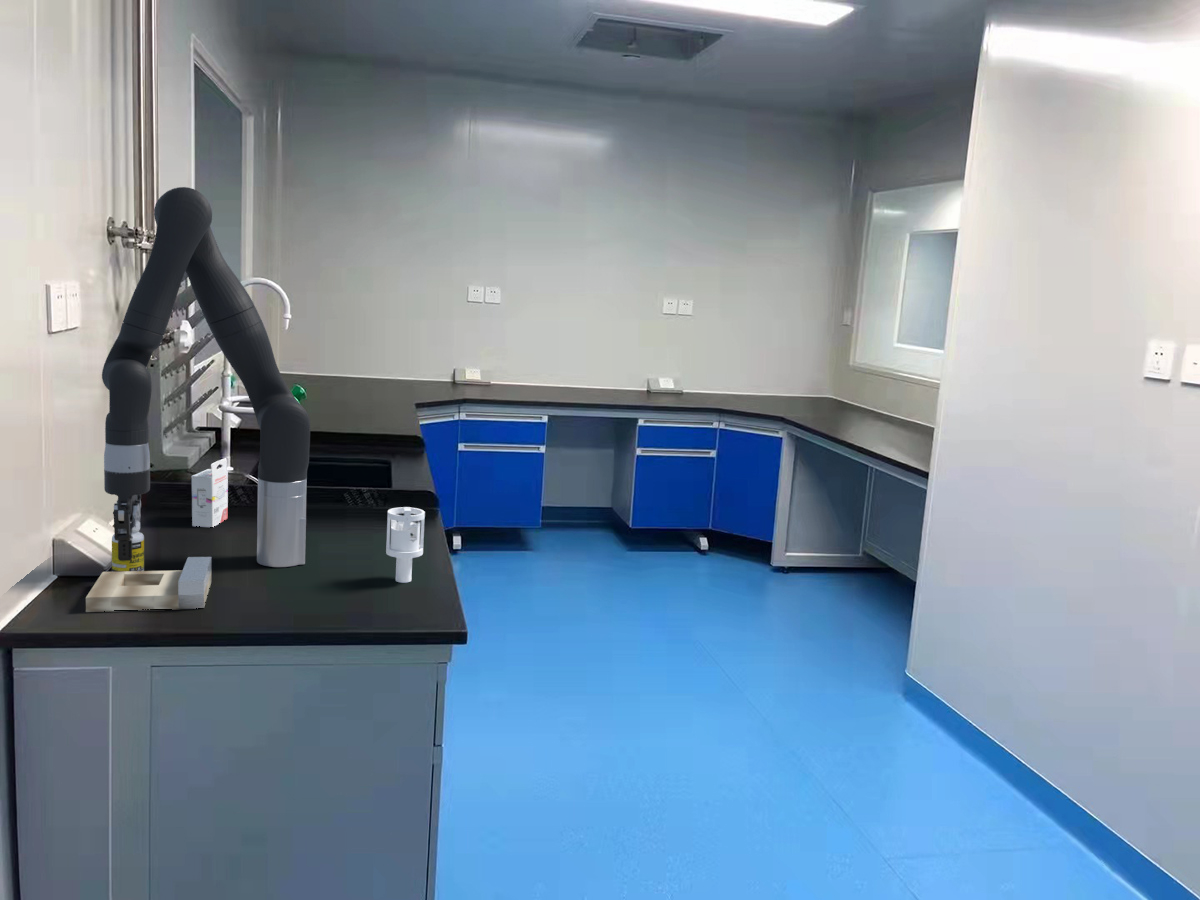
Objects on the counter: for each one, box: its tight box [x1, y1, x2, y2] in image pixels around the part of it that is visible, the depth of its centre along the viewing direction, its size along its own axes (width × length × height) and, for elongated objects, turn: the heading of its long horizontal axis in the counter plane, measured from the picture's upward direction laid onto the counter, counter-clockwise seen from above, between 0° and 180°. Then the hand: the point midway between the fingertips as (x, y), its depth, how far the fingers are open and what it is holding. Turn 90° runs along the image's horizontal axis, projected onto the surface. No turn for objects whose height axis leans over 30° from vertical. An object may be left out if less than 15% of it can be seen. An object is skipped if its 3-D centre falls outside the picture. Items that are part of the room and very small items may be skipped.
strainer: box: [385, 506, 426, 584], centre depth 181 cm, size 7×7×15 cm
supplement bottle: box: [111, 521, 145, 572], centre depth 173 cm, size 5×5×10 cm
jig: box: [85, 556, 212, 613], centre depth 162 cm, size 18×14×5 cm
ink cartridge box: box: [191, 457, 229, 528], centre depth 211 cm, size 9×5×15 cm, turn 179°
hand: (128, 555), depth 173 cm, fingers closed on supplement bottle, 5 cm apart
